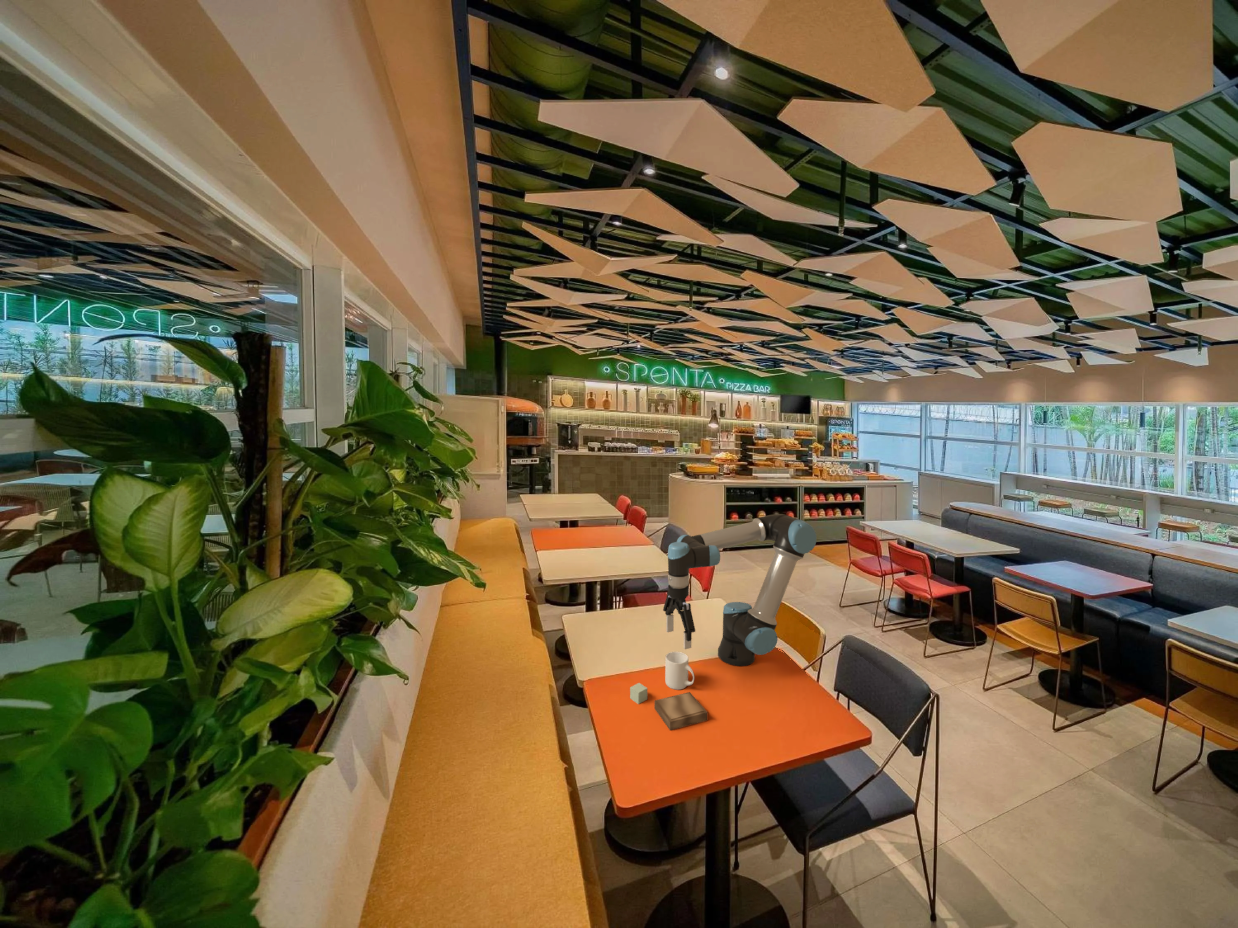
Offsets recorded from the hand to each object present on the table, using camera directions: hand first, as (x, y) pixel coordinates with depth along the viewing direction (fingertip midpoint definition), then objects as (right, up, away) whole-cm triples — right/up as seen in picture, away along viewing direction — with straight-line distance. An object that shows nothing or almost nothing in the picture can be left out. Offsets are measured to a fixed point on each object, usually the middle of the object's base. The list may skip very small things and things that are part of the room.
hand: (678, 639), depth 174 cm
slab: (-1, -21, -14) cm, 25 cm away
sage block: (-15, -20, -5) cm, 25 cm away
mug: (+1, -19, +3) cm, 19 cm away
